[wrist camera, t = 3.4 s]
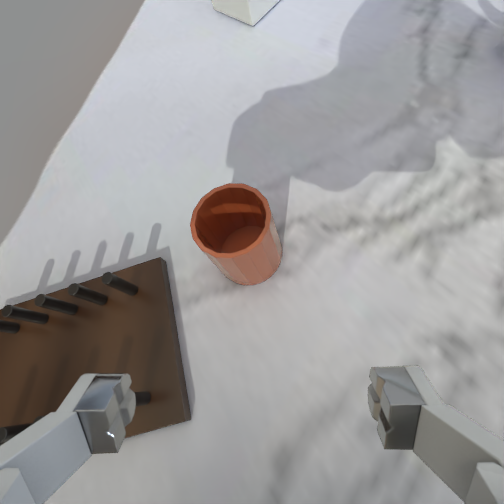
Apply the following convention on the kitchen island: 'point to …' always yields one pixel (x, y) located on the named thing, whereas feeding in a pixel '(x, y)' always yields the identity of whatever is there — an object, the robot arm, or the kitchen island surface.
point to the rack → (94, 348)
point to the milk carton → (244, 9)
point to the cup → (237, 233)
